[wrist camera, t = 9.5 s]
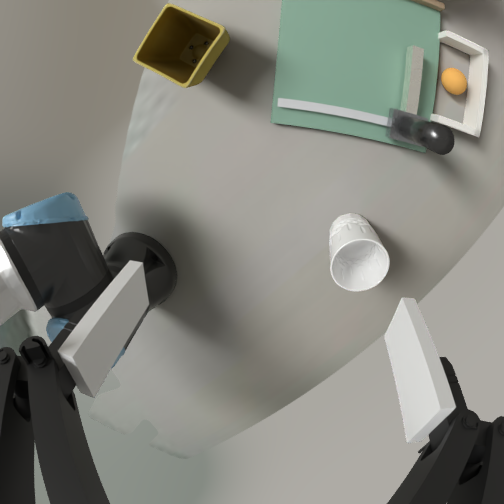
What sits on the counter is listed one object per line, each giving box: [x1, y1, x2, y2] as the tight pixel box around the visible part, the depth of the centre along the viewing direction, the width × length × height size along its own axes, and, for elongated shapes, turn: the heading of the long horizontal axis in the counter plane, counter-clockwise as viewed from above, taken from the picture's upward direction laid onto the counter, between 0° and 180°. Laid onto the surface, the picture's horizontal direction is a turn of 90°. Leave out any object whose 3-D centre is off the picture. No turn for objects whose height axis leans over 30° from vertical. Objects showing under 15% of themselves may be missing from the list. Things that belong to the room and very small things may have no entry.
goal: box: [430, 30, 489, 138], centre depth 28 cm, size 8×14×4 cm, turn 175°
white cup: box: [329, 213, 390, 291], centre depth 40 cm, size 8×8×10 cm
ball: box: [441, 68, 467, 95], centre depth 28 cm, size 4×4×4 cm
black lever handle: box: [385, 45, 454, 155], centre depth 26 cm, size 5×14×12 cm, turn 175°
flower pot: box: [133, 3, 230, 88], centre depth 31 cm, size 9×9×9 cm
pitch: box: [271, 0, 445, 153], centre depth 30 cm, size 22×24×3 cm
